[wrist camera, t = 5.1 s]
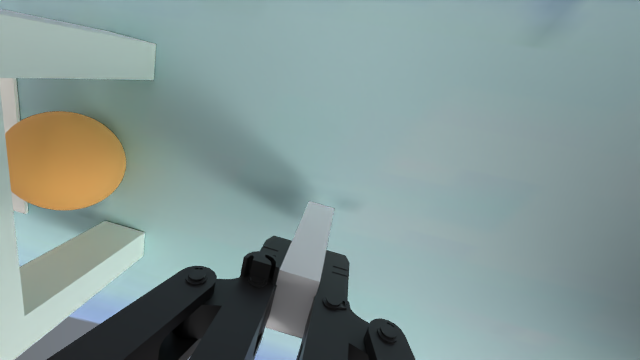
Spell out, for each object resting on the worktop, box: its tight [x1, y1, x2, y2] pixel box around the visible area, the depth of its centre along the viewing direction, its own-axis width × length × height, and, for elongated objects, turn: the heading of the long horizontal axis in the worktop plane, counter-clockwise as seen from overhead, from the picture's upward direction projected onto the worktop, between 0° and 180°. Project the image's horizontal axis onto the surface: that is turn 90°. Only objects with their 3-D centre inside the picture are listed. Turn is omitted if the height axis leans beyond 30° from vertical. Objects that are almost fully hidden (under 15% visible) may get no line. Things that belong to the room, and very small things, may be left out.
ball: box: [5, 111, 126, 210], centre depth 17 cm, size 6×6×6 cm
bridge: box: [0, 9, 156, 360], centre depth 15 cm, size 3×14×9 cm, turn 166°
